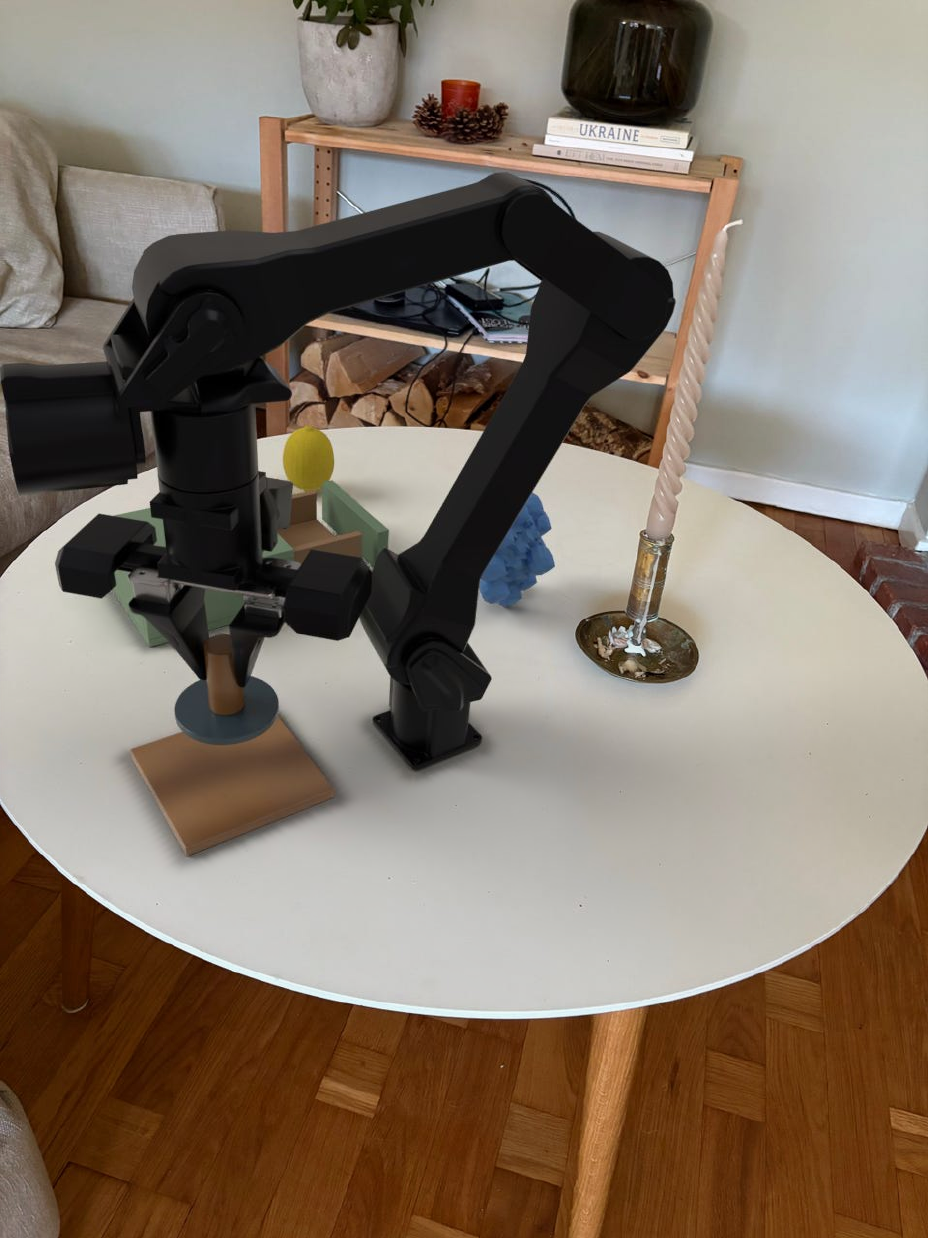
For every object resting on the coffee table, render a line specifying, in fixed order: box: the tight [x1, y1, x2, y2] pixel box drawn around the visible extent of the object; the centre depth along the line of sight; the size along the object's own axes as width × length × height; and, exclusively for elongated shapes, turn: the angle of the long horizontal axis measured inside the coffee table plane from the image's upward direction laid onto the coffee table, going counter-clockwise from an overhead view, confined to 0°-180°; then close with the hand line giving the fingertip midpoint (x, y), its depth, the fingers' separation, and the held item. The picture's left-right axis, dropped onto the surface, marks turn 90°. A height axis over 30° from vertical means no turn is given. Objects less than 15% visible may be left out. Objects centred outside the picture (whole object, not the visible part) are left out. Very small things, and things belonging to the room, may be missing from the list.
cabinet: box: [111, 507, 294, 648], centre depth 87 cm, size 14×13×6 cm
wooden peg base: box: [129, 715, 335, 857], centre depth 70 cm, size 11×11×1 cm
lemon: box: [282, 424, 335, 492], centre depth 104 cm, size 6×6×8 cm
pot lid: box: [173, 633, 280, 745], centre depth 65 cm, size 7×7×6 cm
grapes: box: [479, 491, 556, 608], centre depth 88 cm, size 12×7×12 cm, turn 148°
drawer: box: [277, 479, 390, 569], centre depth 93 cm, size 14×11×4 cm
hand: (225, 679), depth 65 cm, fingers closed on pot lid, 2 cm apart
